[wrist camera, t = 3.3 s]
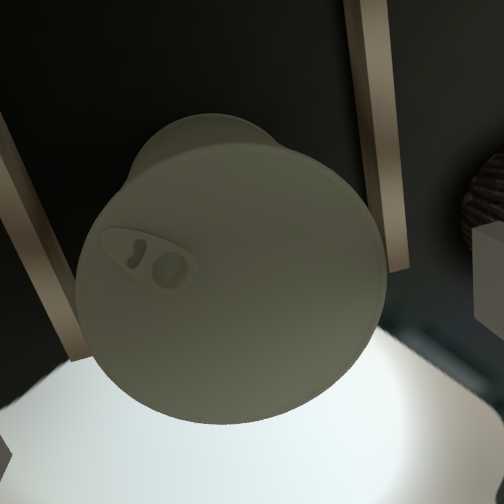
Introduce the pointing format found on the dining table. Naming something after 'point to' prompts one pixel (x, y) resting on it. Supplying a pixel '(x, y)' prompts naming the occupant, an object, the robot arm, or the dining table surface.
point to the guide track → (373, 155)
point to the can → (229, 275)
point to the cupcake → (484, 197)
